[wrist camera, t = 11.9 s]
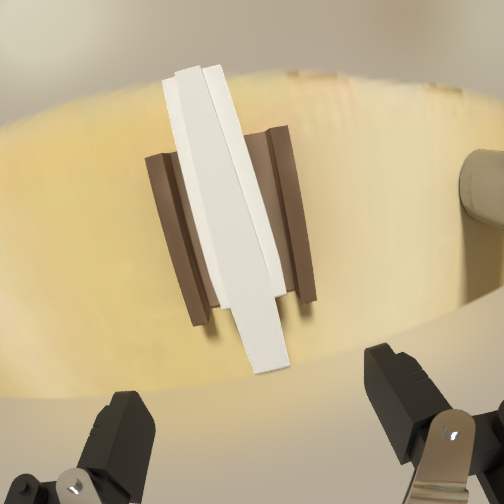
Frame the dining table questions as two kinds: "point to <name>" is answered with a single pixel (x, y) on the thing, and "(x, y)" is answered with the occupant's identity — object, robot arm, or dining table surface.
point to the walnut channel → (277, 208)
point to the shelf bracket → (228, 210)
